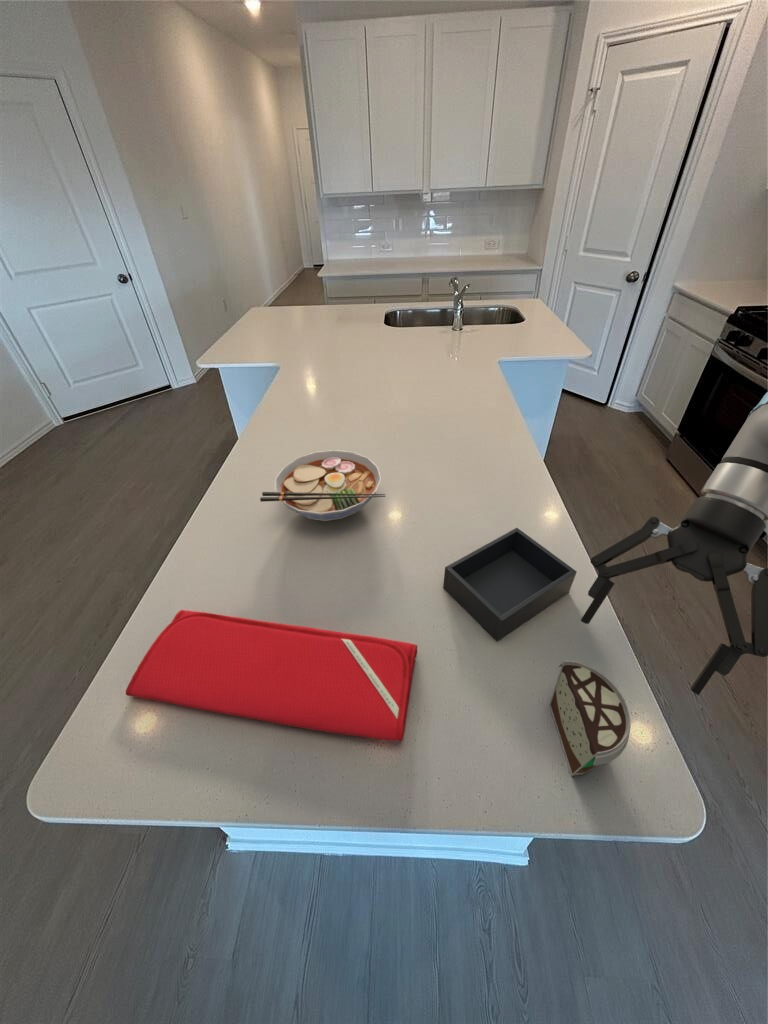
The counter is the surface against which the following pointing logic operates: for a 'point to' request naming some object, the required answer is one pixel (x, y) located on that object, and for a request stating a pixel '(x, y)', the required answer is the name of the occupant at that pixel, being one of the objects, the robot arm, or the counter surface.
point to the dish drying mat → (280, 674)
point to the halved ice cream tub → (588, 717)
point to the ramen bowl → (326, 484)
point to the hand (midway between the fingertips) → (635, 654)
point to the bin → (508, 582)
